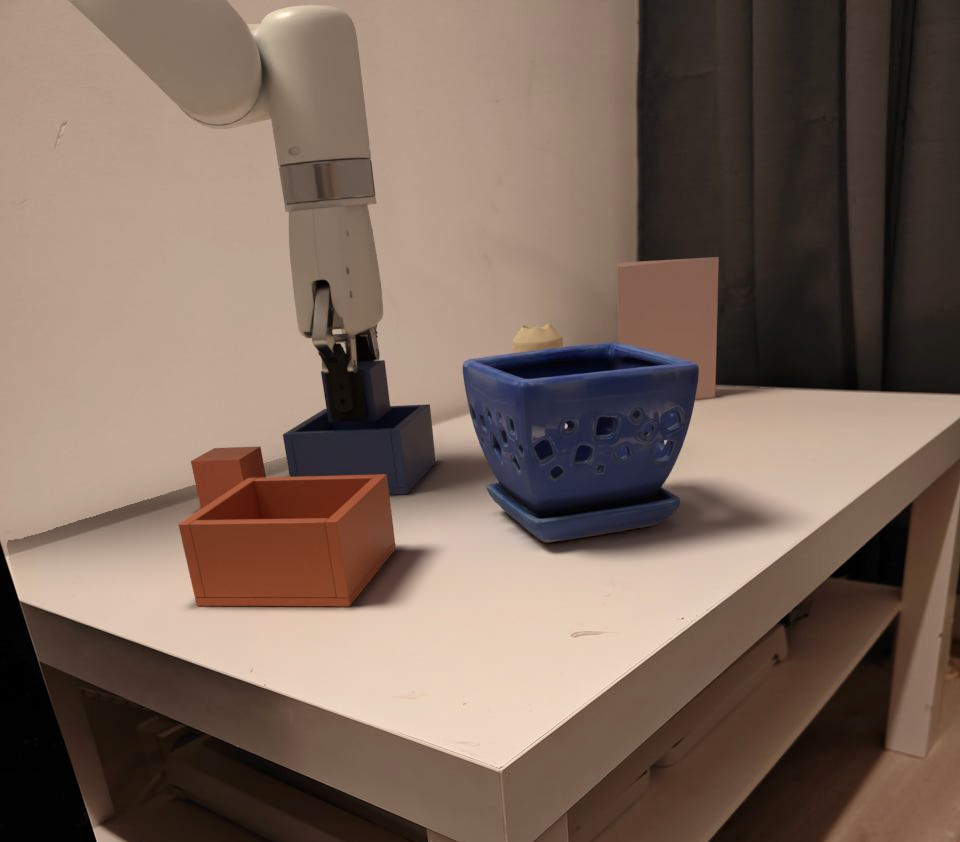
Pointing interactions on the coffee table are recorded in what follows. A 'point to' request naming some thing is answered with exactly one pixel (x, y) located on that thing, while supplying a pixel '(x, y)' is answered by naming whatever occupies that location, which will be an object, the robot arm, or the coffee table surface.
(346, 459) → the navy bin
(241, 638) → the coffee table surface
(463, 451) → the coffee table surface
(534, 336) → the candle
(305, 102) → the robot arm
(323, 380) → the navy block
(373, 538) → the terracotta bin
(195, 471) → the terracotta block
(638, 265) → the greeting card
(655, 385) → the flower pot
